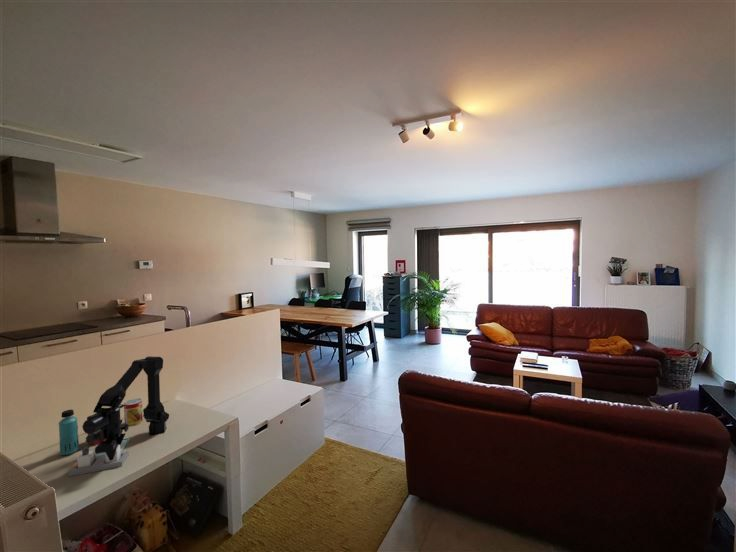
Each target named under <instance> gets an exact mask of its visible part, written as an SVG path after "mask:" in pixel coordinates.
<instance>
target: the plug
mask: <svg viewBox="0 0 736 552" xmlns="http://www.w3.org/2000/svg"><path fill="white" fill-rule="evenodd" d="M105 458H106V463H109V462H115V461H119V460H120V458H121V451H120V445H118V447H117V450H116V453H115V456H114V458H113V460H109V458H108V456H107V454H106V452H105Z"/></svg>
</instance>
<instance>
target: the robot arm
mask: <svg viewBox="0 0 736 552" xmlns="http://www.w3.org/2000/svg"><path fill="white" fill-rule="evenodd" d="M163 368H164V358H163V357H161V356H151V355H150V356H146V357H145V358H141V359H135V360H133V361H132V362H131V365H130V366H129V367H128V369H127V370H125V372H124V374H123V375H122V376H121V377H120V378H119V380H118V381H117V382H116V383H115V384H114V385H113V386H111V387H109V388H107V389H106V390H105V391H104V392H103V393H102V394H101V395H100V396H99V399H98V401H97V403H96V404H95V405H96V406H94V409H93V411H92V413H94V414H91V415H88V416H87V417H86V420H84V422H83V424H82V430H83V432H84V433H85V434H87V436H86V437H85V443H87V444H88V443H89V444H91V443H93V442H94V441H97V440H99V439H101V440H104V439H106V441H102V442H100V443H99V444H98V445H96V446H95V448H94V454H97V453H103V452H106V454H107V456H108V458H109V460H113V458H114V456H115V453H116V450H117V447H118V445H120V446H121V443H122V441H123V439H124V438H125V436H126V432H128V430H130V429H129V428H130V427H128V424H125V423H123V419H121V408H124V403H123V404H122V402H123V400H124V399H125V398H126V394H127V390H128V389H129V387H130V386H131V384H132V383H134V381H135V379H136V378H138V376H139V374H140V373H141V372H142V371H143V372H144V373H145V375H146V376H147V377H146V378H147V405H146V406H145V407H144V408H142V417H143V419H144V420H145V421H146V423H149V424H148V434H149V437H151V436H157V435H162V434H165V432H166V430H167V428H168V427H167V426H166V425H167V424H166V423H167V422H168V420H169V418H170V413H168V412H166V411H165V406H164V404H163V403H162V402H161V391H160V390H161V389H160V386H161V385H160V373H161V371H162V369H163ZM123 431H124V432H125V433H123ZM88 434H89V435H88Z"/></svg>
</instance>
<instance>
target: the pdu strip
mask: <svg viewBox="0 0 736 552" xmlns="http://www.w3.org/2000/svg"><path fill="white" fill-rule="evenodd" d="M128 457H129V451H122V452H121V458H120V460H119V461H115V462H109V463H106V458H105V455H104V456H99V457H94V463H93V464H92V465H91V466H87V467H82V468H78V460H77V461H76V462H75V463H73V464H72V467H71V468H70V469H69V470H68V477H71V476H77V475H82V474H86V473H87V474H88V473H92V472H98V471H104V470H109V469H114V468H119V467H120V468H121V467H123V465H124V464H125V463H126V461H127V459H128Z"/></svg>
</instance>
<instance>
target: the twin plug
mask: <svg viewBox="0 0 736 552" xmlns="http://www.w3.org/2000/svg"><path fill="white" fill-rule="evenodd" d="M94 455H95V449H94V450H93V449H92V450H90V446H85V447H83V448H82V449H81V453H79V455H78V456H77V458H76V459H77V461H78V468H82V467H87V466H91V465H92V464H93V463H94Z"/></svg>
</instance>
